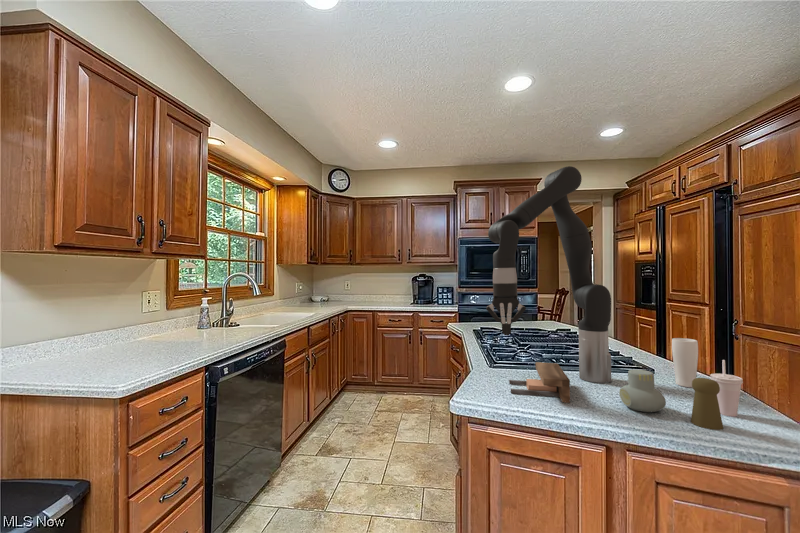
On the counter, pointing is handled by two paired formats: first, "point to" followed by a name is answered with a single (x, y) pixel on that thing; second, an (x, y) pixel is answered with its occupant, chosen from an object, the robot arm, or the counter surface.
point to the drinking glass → (685, 360)
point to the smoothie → (728, 392)
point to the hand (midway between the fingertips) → (506, 335)
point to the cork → (706, 404)
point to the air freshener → (642, 392)
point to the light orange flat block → (538, 385)
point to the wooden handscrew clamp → (548, 382)
